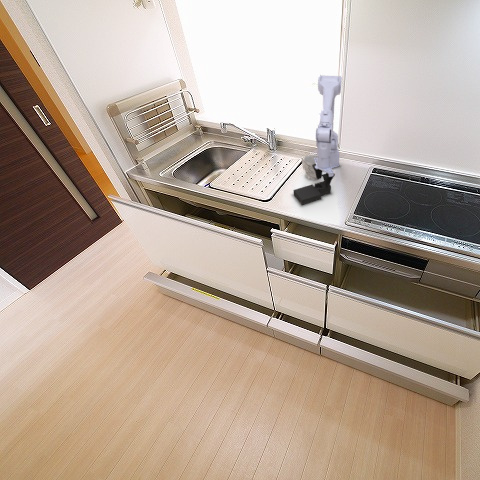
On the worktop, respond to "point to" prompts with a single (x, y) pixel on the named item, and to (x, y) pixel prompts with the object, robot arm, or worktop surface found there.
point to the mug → (309, 166)
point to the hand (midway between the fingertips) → (323, 182)
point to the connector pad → (323, 188)
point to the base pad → (307, 194)
